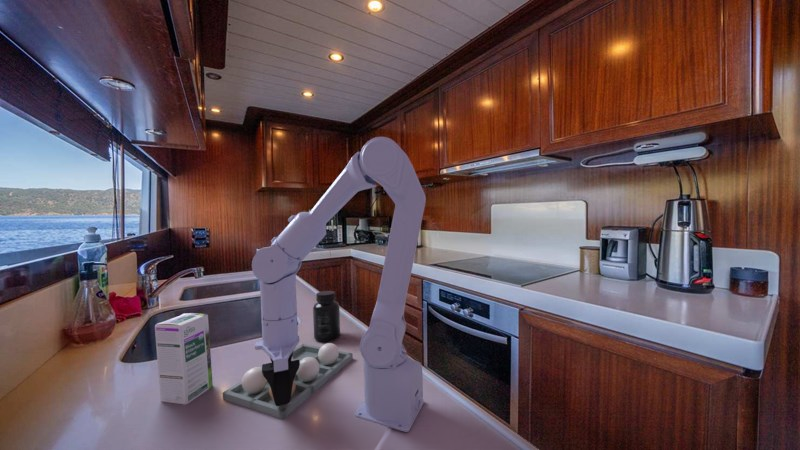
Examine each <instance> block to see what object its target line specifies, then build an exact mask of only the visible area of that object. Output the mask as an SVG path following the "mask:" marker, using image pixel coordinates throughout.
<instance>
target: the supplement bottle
mask: <svg viewBox="0 0 800 450" xmlns="http://www.w3.org/2000/svg"><path fill="white" fill-rule="evenodd" d="M315 297H316V298H315V299H316V303H315V304H314V305H313V307H312V315H313V316H312V317H313V321H312V323H313V339H314V340H315V341H316V342H319V343H331V342H333V341H336V340H338V338H340V336H341V315H340V314H341V313H340V312H341V311H340V304H339V302H338V301H336V292H335V291H334V290H324V291H323V290H322V291H319V292H317V293H316V295H315Z"/></svg>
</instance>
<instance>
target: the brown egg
mask: <svg viewBox="0 0 800 450" xmlns="http://www.w3.org/2000/svg"><path fill="white" fill-rule="evenodd" d="M295 389H296V383H295V380H294V381H293V386H292V393H291V397H292V396H293V394H294V392H295ZM269 395H270V397H271V399H272V400H273V401H274V398H273V394H272V391H271V387H270V386H269Z"/></svg>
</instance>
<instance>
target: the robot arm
mask: <svg viewBox="0 0 800 450" xmlns="http://www.w3.org/2000/svg"><path fill="white" fill-rule="evenodd" d="M376 183H378V184H379V185H380V186H381V187H383V190H384V191H385V192H386V194H387V195H388V197H389V198H390V199H391V201H392V202H393V203H394V204H395V205H394V206H395V207H394V209H393V216H392V221H391V227H390V232H389V237H388V242H387V246H386V250H385V251H386V252H385V257H384V262H383V263H384V264H383V267H382V272H381V277H380V278H381V279H380V282H379V283H380V284H379V287H378V292H377V298H376V303H375V305H374V308H373V312H372V315H371V318H370V322H369V327H368V328H367V329H366V331H365V332H364V334H363V335H362V336H361V339H360V342H359V352H360V354H361V356H362V358H363V383H364V384H363V385H364V389H363V390H364V401H363V403H362V404H361V405H360V406H359V407H358V409H357V410H356V411H355V412H354V416H355V418H359V419H363V420H364V421H369V422H373V423H376V424H380V425H383V426H386V427H388V428H391V429H393V430H397V431H402V432H404V433H409V432H410V430H411V429H412V426H413V424H414V422H416V419H417V417H418V415H419V413H420V411H421V410H422V407H423V405H424V404H425V398H424V396H423V395H424V391H423V390H424V386H423V384H424V382H423V380H424V379H423V378H424V377H423V366H422V363H421V362H420V361H417V360H415V359H414V358H411V357H410V356H409V355H408V352H407V350H406V348H405V346H404V343H403V341H404V340H403V339H404V335H405V334H406V330H407V323H406V320H405V308H406V300H407V296H408V291H409V285H410V281H411V275H412V271H413V266H414V260H415V257H416V251H417V247H418V241H419V236H420V231H421V226H422V223H423V222H422V221H423V217H424V213H425V207H426V206H425V205H426V201H427V200H426V194H425V192H424V189H423V187H422V185H421V183H420V179H419V177H418V175H417V173H416V170H415V168H414V166H413V164H412V162H411V160H410V158H409V156H408V155H407V154H406V152H405V151H404V150H403V149H402V148H401V147H400V146H399V144H398V143H397V142H396V141H394V140H393V139H392V138H390V137H387V136H375V137H372V138H370V140H367V142H366V143H365V144H364V145H363V146H362V148H361V150H360V151H357V152H356V153H354V155H353V156H352V157H351V158H350V160H349V161H348V162H347V165H346V166H345V167H344V169H343V170H342V171H341V172H340V174H339V175H338V176H337V177H336V179H335V180H333V182H332V184H331V185H330V186H329V187H328V189H327V190H326V191H325V193H323V195H322V196H321V197H320V198H319V200H318V201H317V202H316V204H314V206H313V208H311V210H310V211H300V212H298V213H297V214H291V216H290V217H289V218H288V219H287V222H289V223H288V224H287V226H286V227H284V229H283V230H282V231H281V232H280V234H278V236H274V237H273V238H272V239H271V240H270V243H271V245H270V246H266V247H262V248H259V249H257V251H256V252H255V254H254V256H253V258H252V260H251V270H252V273H253V274H254V276H255V278H256V279H258V281H259V291H260V313H261V337H262V340H259V341H255V344H254V349H255V350H256V351H259V350H260V351H261V350H262V351H263V352H264V353H265V354H266V355H267V356H268V357H269V359H270V362H268V363H263V364H261V368H262V374H263V376H264V377H265V378H266V380H267V381H268V383H269V385H270V387H271V391H272V394H273V398H274V402H275V404H276V406H280V405H284V404H288V403H289V402H290V399H291V393H292V386H293V381H294V378H295V375H296V373H297V371H298V369H299V366H300V361H299V360H294V361H291V359H292V355H293V351H294V349H295V348H297V347H298V346H299V343H300V336H299V330H298V329H299V328H298V327H299V326H298V307H297V304H298V303H297V274H298V272H299V270H300V269H301V266H302V264H303V263H302V262H303V260H305V258H306V257H307V256H309V254H310V253H311V252H312V251H313V250H314V248H315V247H316V246H317V245H318V244H319V243H320V242H321V241H322V240H323V239H324V238H325V236H326V235H327V223H328V222H329V221H330V220H331V219H332V218H334V217H335V215H336V214H338V213H339V211H340V210H341V209H342V208H343V207H344V206H346V205H347V203H348V202H349V201H350V200H351V199H352V198H353V197H354V196H355V195H356V194H357V193H358V192H361V191H364V190H369V189H373V188H376V187H377V184H376ZM271 362H272V363H271Z"/></svg>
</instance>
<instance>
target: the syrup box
mask: <svg viewBox="0 0 800 450" xmlns="http://www.w3.org/2000/svg"><path fill="white" fill-rule="evenodd" d="M154 332H155V333H154V335H155V346H156V361H157V371H158V383H159V397H160V399H159V400H160V402H161V403H162V402H164V403H170V404H171V403H173V404H177V405H178V404H180V405H188V404H190V403H191V402H192V401H194V400H195V399H197V398H198V397H199V396H201V395H202V394H204V393H206V392H207V391H208V390H210V389H211V388H212V387H213V386H214V384H213V373H212V372H213V371H212V370H213V368H212V355H211V341H210V327H209V315H208V314H207V313H201V312H200V313H198V312H195V313H194V312H189V313H188V312H187V313H185V312H184V313H182V314H180V315H179V316H175V317H172V318H169V319H167V320H164V321H162V322H161V321H160V322H157V323H156V324H155V325H154Z"/></svg>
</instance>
